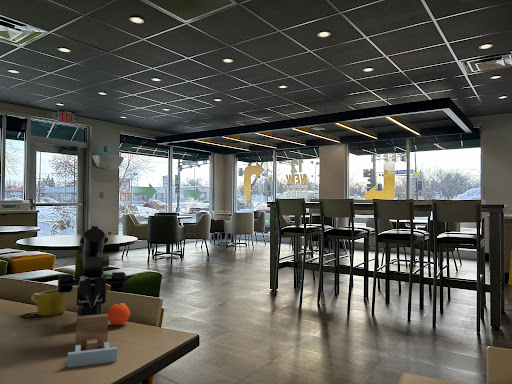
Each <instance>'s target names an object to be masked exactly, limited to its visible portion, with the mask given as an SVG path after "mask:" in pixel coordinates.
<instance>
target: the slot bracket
mask: <svg viewBox="0 0 512 384" xmlns="http://www.w3.org/2000/svg"><path fill="white" fill-rule="evenodd" d="M110 345H111V344H110V341H107V342H104V346H103V348H97V349H95V350H86V349H85V350H82V349H81V345H74V347H75V348H74V351H70V352H67V365H66V366H67V368H75V367H83V366H89V365H90V366H91V365H98V364H107V363H113V362H114V363H115V362H117V361H118V347H117V346H113V347H111V346H110Z"/></svg>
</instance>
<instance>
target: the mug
mask: <svg viewBox="0 0 512 384" xmlns="http://www.w3.org/2000/svg"><path fill="white" fill-rule="evenodd" d="M30 300H31V301H32V303H33V304H34V305H35V307H36V309H37V314H38V315H39V316H40V317H41V316H42V317H49V318H50V317H54V316H58V315H60V314H63V313H64V312H65V311H66V292H65V293H60V292H58V288H57V289H50V290H45V291H41V292H40V293H39V292H35V293H33V294H31V295H30Z"/></svg>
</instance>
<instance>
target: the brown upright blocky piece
mask: <svg viewBox="0 0 512 384" xmlns="http://www.w3.org/2000/svg"><path fill="white" fill-rule="evenodd" d="M75 319H76V320H75V324H76V325H75V345H81V350H82V349H85V351H86V350H95V349H98V348H101V347H104V342H108V335H109V334H108V333H109V332H108V331H109V330H108V329H109V319H108V313H101V314H99V315H87V316H77V315H76V318H75ZM75 345H74V346H75Z"/></svg>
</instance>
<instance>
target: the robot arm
mask: <svg viewBox="0 0 512 384" xmlns="http://www.w3.org/2000/svg"><path fill="white" fill-rule="evenodd" d="M90 227H91V228H90V229H87V230H84V231H83V234H81V235H80V240H79V248H78V249H79V250H78V255H79V256H80V260H81V261H82V276H79V278H74V274H73V273H65V274H63V273H62V274H59V275H58V277H57V289H58V292H60V293H65V294H66V293H71V292H72V291H73V289H74V288H73V287H77V290H76V291H77V293H76V306H78V308H77V310H76V311H77V313H76V317H77V316H87V315H99V314H102V305H104V304H105V303H107V302H106V301H107V288H106V286H107V285H108V284H109V285H110V289H112V290H115V291H116V290H124V289H125V287H126V286H125V285H126V280H127V275H126V273H125V271H113V272H111V276H104V269H105V268H109V266H110V255H103V254H104V253H103V250H104V246H105V245H106V244H107V243H108V242H109V238H108V237H107V236H106V234H105V232H104V231H103V230H102V229H100V228H99V226H98V225H92V226H90Z"/></svg>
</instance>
